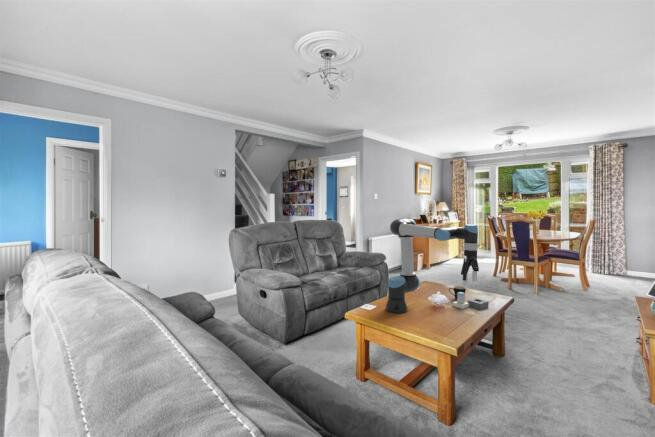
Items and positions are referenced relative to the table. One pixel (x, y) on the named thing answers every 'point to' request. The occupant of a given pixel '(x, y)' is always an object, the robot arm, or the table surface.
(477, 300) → the port block
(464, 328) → the table surface
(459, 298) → the plug
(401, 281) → the robot arm
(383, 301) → the table surface
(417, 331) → the table surface
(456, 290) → the coffee mug
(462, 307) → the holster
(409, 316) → the table surface
